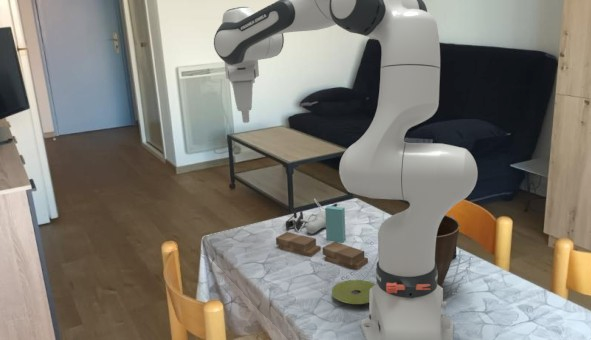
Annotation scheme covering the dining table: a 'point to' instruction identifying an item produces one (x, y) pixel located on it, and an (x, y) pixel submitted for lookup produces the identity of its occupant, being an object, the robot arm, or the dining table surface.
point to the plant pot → (445, 246)
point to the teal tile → (335, 223)
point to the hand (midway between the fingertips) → (246, 121)
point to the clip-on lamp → (308, 221)
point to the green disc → (353, 291)
